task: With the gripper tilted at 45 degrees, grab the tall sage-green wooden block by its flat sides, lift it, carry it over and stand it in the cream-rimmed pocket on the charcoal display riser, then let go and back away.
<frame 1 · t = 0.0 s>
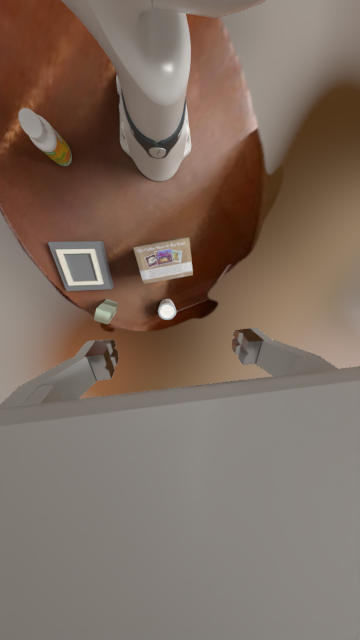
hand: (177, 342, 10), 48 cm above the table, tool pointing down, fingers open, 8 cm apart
supplement bottle: (61, 153, 37), on the table
display riser: (86, 266, 49), on the table
shot glass: (166, 305, 59), on the table
green block: (111, 306, 57), on the table
tea box: (163, 258, 51), on the table
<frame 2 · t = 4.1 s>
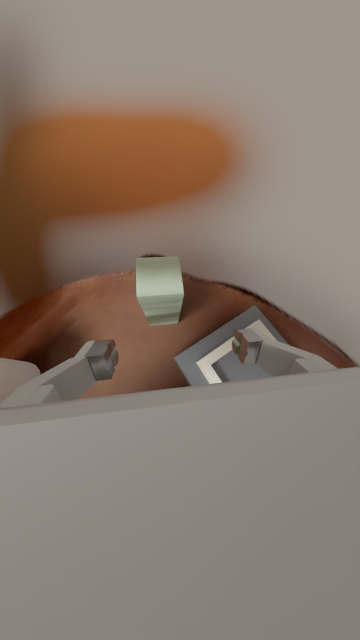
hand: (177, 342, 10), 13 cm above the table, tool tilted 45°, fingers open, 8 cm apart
display riser: (241, 374, 22), on the table
shot glass: (19, 383, 19), on the table
green block: (162, 311, 24), on the table
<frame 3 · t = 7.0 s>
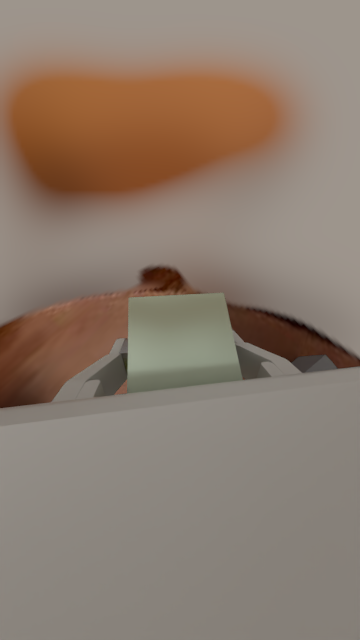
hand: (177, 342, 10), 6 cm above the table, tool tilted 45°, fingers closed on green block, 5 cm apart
display riser: (303, 470, 13), on the table
green block: (174, 357, 16), on the table, touching gripper
when the fingers open (10 cm above the table, at t = 15.6 s): green block drops 1 cm, resting on display riser.
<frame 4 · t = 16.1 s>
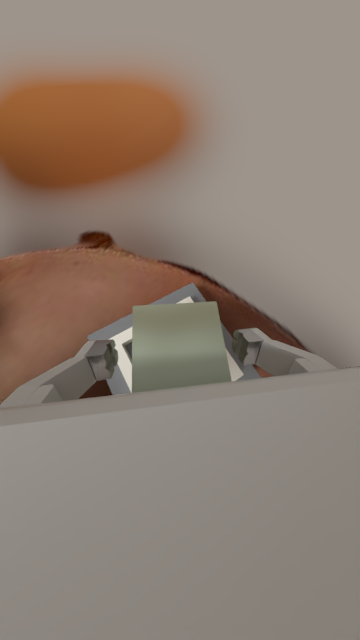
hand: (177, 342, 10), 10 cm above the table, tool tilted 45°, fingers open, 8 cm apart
display riser: (173, 359, 19), on the table
green block: (173, 357, 16), point 3 cm above the table, touching display riser
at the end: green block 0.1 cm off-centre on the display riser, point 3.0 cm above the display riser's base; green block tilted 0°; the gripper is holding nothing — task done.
